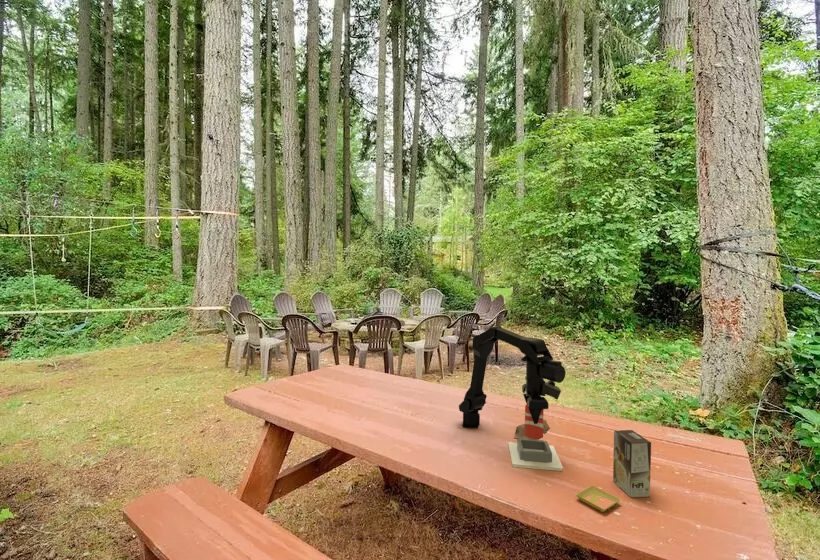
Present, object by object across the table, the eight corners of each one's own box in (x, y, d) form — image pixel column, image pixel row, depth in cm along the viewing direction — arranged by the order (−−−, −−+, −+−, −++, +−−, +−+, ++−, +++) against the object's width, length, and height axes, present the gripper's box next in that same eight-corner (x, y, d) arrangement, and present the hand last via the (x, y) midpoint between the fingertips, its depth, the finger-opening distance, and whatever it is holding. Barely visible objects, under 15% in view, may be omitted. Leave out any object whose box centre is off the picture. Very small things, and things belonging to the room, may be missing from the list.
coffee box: (651, 496, 114) (652, 442, 114) (630, 498, 114) (631, 443, 113) (631, 479, 123) (632, 429, 123) (611, 480, 123) (612, 430, 122)
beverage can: (543, 434, 140) (543, 401, 139) (542, 442, 134) (543, 407, 133) (525, 431, 142) (525, 399, 141) (524, 439, 136) (524, 405, 135)
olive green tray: (592, 491, 118) (592, 484, 118) (621, 506, 110) (621, 499, 110) (575, 501, 113) (575, 494, 113) (604, 517, 106) (604, 509, 106)
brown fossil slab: (527, 444, 148) (527, 441, 148) (502, 435, 156) (502, 432, 156) (559, 425, 165) (559, 423, 165) (535, 418, 173) (536, 415, 173)
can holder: (512, 466, 131) (512, 455, 131) (508, 445, 147) (508, 434, 146) (562, 471, 128) (563, 459, 128) (553, 448, 144) (553, 437, 144)
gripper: (565, 384, 126) (564, 432, 127) (553, 369, 145) (552, 411, 145) (529, 383, 128) (528, 430, 128) (522, 368, 146) (521, 409, 147)
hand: (534, 419), depth 137 cm, fingers closed on beverage can, 6 cm apart
